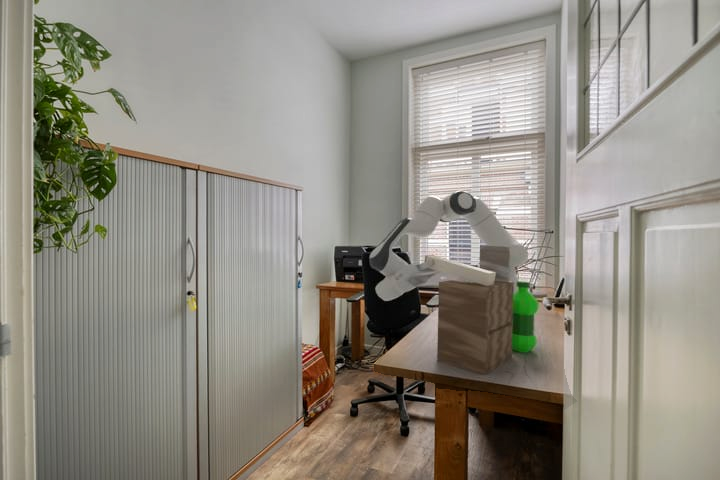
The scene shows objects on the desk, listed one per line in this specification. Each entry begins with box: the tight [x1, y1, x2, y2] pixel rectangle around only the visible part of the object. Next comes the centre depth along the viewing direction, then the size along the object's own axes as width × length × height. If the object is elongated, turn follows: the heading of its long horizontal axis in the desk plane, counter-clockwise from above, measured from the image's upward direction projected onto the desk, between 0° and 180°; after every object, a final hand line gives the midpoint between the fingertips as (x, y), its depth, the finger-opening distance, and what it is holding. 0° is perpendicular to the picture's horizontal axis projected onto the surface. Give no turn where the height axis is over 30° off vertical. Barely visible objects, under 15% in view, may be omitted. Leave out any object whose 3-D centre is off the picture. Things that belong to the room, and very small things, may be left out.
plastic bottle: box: [512, 280, 540, 354], centre depth 126 cm, size 10×10×25 cm
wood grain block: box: [436, 244, 514, 376], centre depth 116 cm, size 22×16×38 cm
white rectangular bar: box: [423, 254, 496, 286], centre depth 116 cm, size 5×24×4 cm, turn 44°
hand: (437, 261), depth 122 cm, fingers closed on white rectangular bar, 5 cm apart
